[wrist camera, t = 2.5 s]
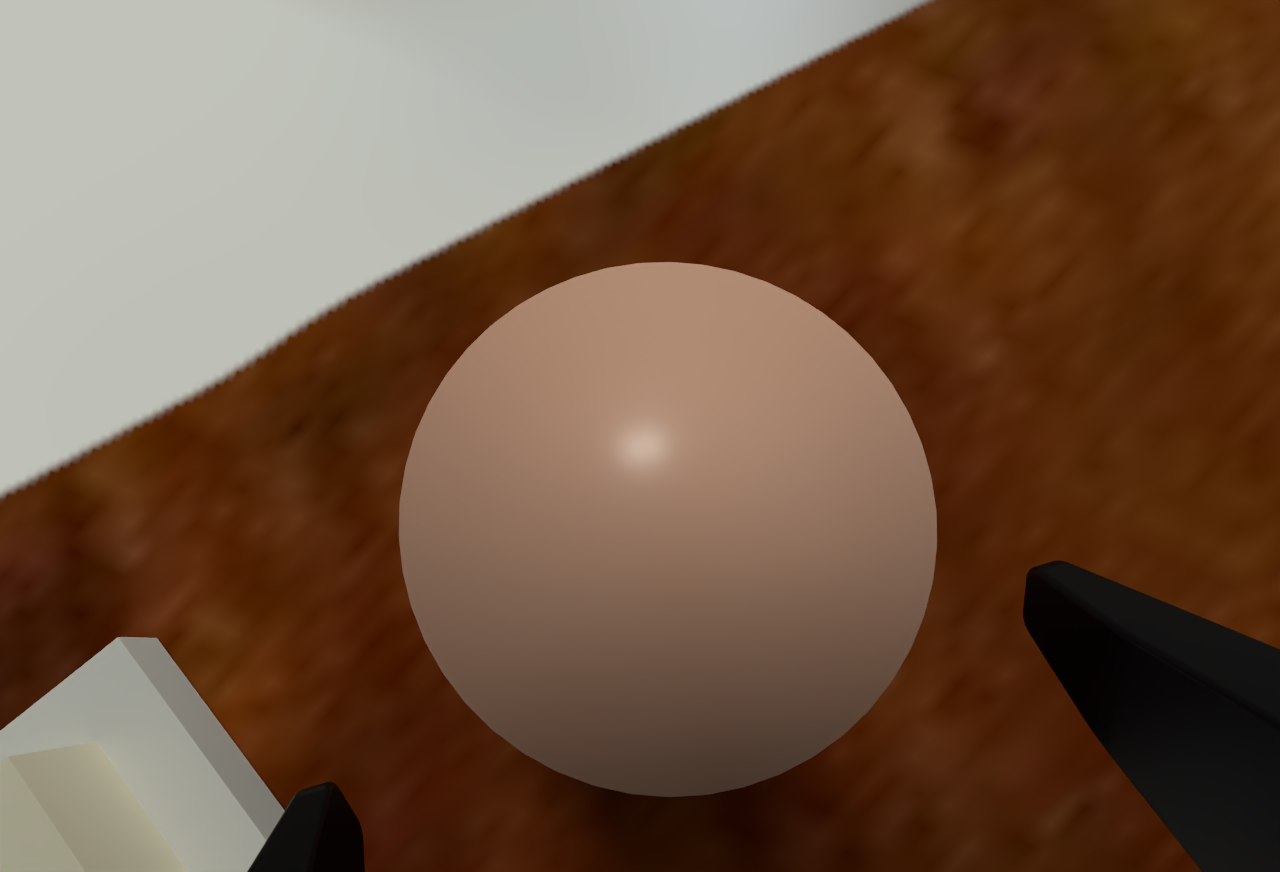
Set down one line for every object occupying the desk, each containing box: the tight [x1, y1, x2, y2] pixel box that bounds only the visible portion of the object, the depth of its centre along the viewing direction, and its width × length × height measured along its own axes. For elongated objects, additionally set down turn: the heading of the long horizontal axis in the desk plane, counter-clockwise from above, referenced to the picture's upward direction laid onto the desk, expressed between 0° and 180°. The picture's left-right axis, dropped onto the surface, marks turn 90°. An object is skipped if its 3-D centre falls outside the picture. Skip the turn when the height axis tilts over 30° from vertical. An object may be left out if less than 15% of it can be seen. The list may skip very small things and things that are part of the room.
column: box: [399, 262, 937, 797], centre depth 13 cm, size 5×5×12 cm
